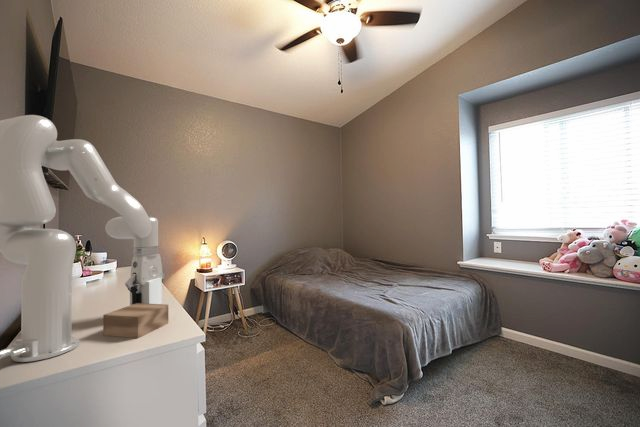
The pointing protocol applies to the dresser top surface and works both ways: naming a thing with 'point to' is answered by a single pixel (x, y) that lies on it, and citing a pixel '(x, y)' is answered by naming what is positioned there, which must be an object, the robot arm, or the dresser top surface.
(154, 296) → the supplement box
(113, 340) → the dresser top surface
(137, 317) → the walnut block
